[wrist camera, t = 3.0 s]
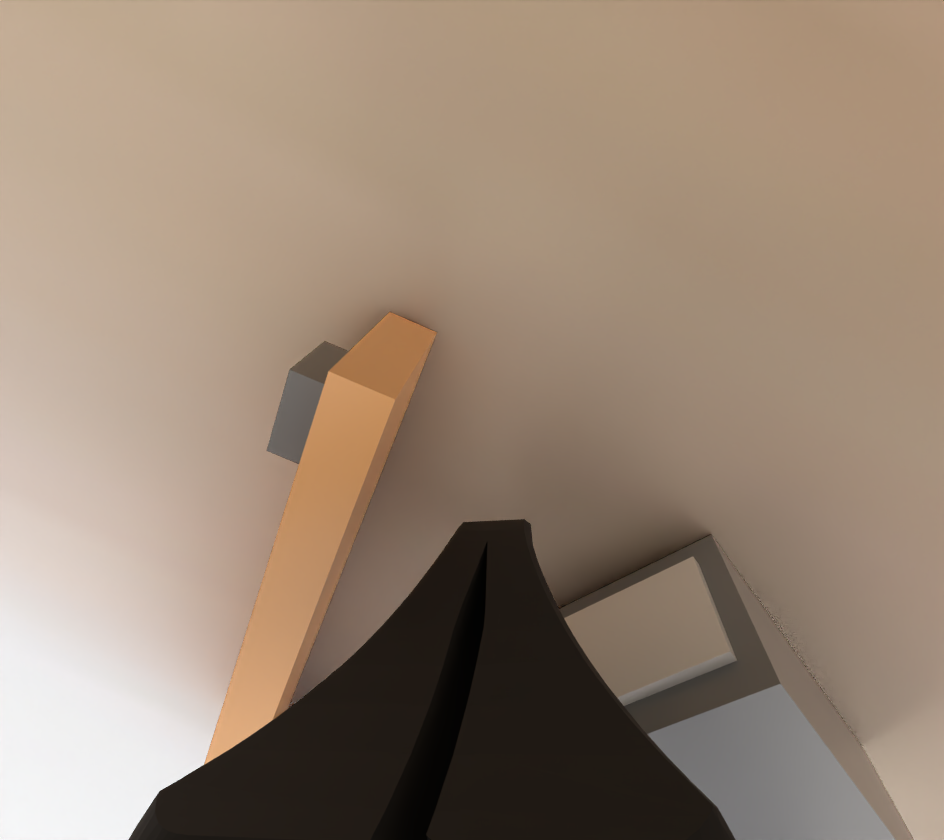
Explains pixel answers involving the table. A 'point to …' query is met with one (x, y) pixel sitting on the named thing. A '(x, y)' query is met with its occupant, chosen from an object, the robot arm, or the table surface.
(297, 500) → the orange piece
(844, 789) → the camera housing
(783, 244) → the table surface
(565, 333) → the table surface
